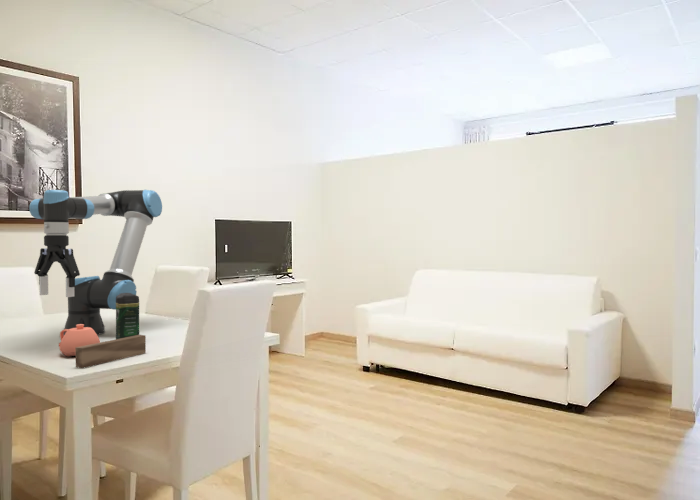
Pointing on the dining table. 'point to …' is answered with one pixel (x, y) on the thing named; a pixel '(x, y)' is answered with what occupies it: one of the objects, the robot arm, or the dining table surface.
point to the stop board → (110, 350)
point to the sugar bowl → (76, 339)
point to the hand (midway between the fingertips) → (56, 295)
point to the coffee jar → (127, 315)
